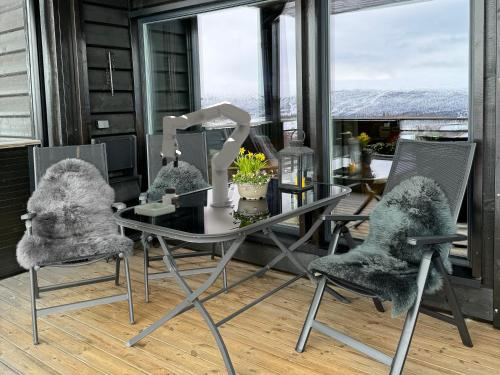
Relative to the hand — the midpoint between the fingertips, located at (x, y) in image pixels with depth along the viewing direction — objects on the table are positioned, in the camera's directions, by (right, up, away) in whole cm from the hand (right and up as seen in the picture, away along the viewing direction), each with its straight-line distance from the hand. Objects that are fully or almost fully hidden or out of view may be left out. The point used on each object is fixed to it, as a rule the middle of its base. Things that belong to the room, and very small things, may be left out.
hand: (170, 166), depth 305 cm
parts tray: (-7, -27, -10) cm, 29 cm away
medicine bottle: (0, -25, +3) cm, 25 cm away
